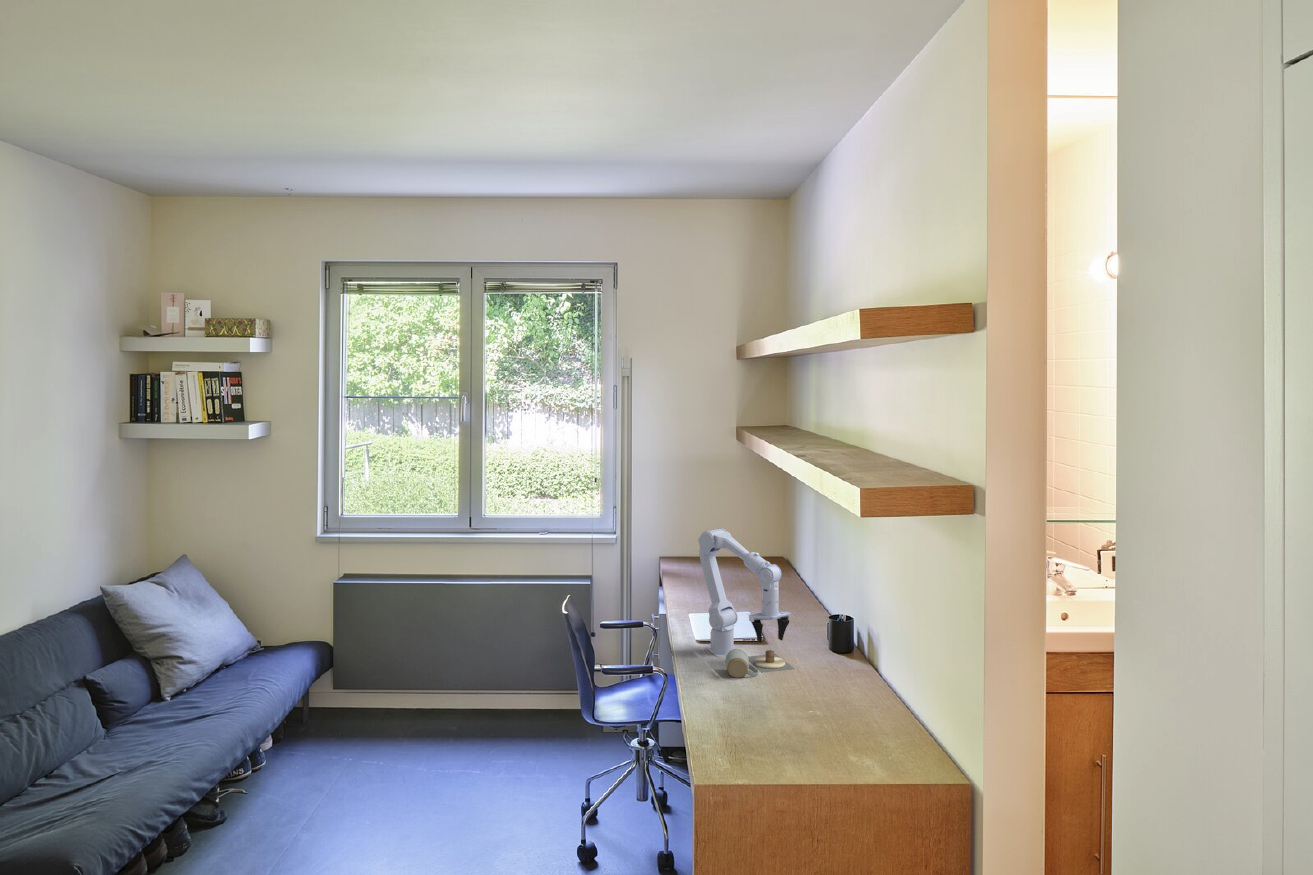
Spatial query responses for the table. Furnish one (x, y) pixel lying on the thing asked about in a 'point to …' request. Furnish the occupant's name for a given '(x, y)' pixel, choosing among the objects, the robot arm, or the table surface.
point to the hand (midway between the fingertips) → (770, 640)
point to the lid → (770, 661)
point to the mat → (752, 661)
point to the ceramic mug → (739, 664)
